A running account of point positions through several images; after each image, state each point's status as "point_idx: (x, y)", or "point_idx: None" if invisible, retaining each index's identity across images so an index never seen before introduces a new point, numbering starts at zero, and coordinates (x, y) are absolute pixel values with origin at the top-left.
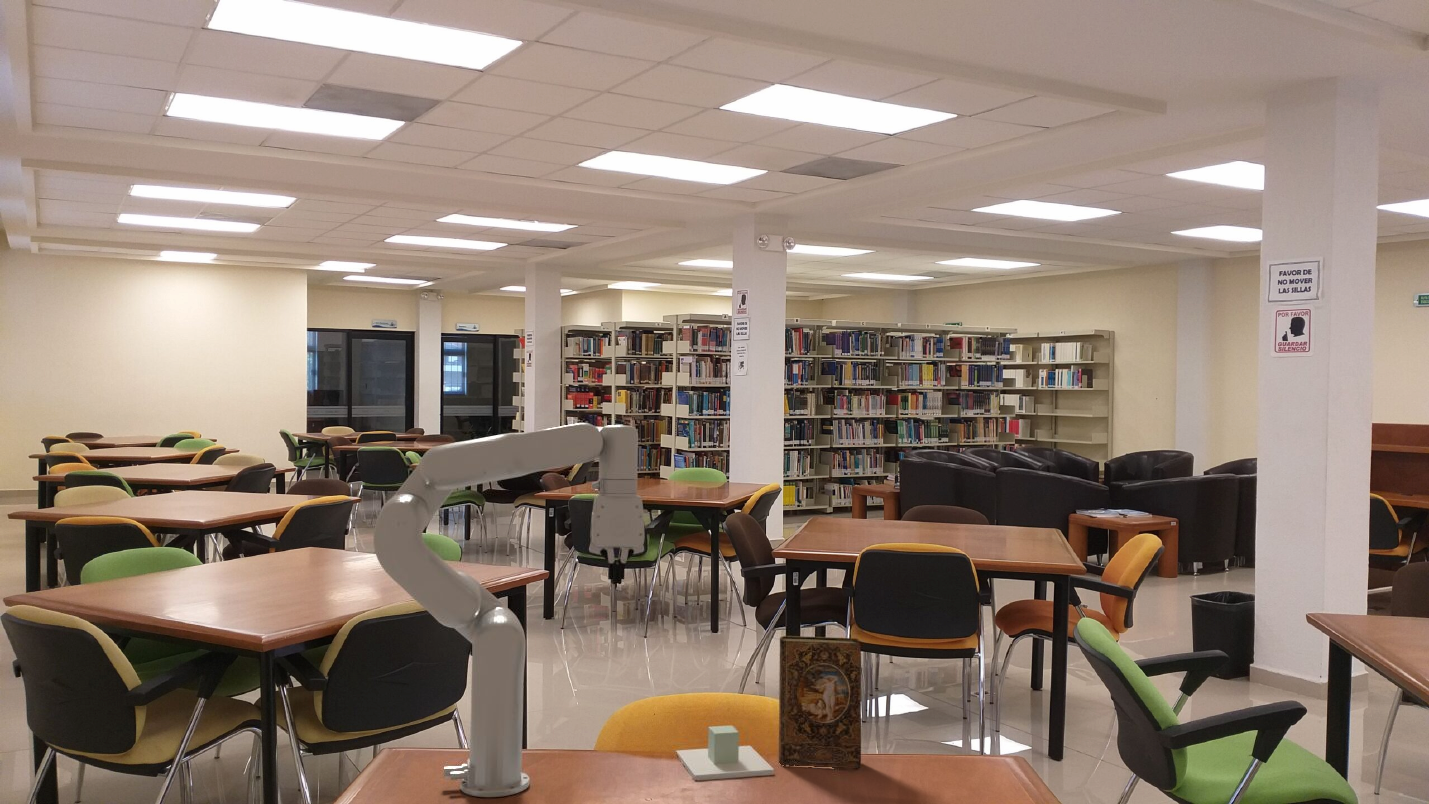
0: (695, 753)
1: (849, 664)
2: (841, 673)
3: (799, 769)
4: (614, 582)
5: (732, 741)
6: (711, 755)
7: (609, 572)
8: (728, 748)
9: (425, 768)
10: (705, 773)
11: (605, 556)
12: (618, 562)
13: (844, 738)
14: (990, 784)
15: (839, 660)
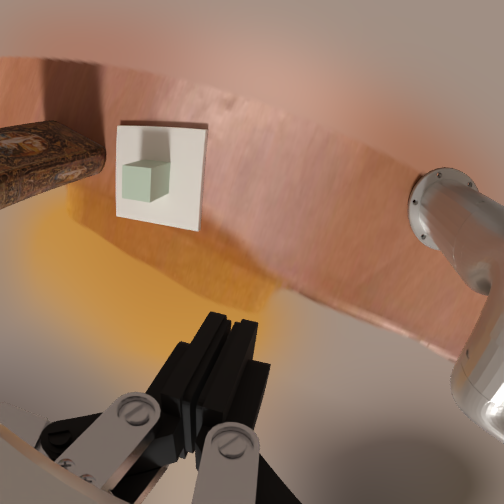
0: (179, 211)
1: None
2: None
3: (94, 136)
4: (250, 323)
5: (136, 164)
6: (166, 177)
7: (263, 387)
8: (145, 163)
9: (478, 300)
10: (190, 132)
11: (271, 488)
12: (179, 423)
13: (40, 128)
14: (5, 74)
15: None
